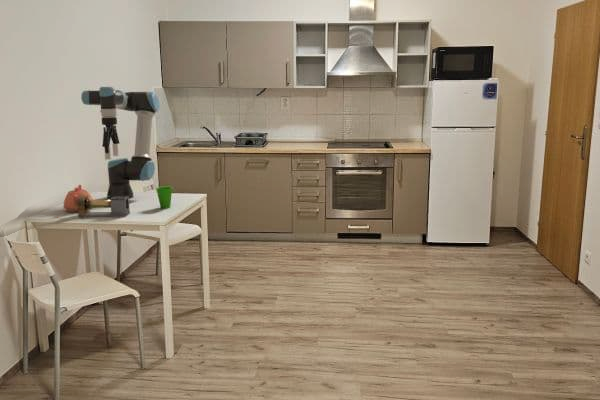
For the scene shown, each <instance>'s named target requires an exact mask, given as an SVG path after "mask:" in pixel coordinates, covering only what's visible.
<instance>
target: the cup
mask: <svg viewBox="0 0 600 400" xmlns="http://www.w3.org/2000/svg"><path fill="white" fill-rule="evenodd" d="M173 188H174V187H173V186H158V187H156V188H155V190H156V193H157V197H158V200H159V202H158V203H159V205H160V206H159V207H160V209H165V210H166V209H170V208H171V203H172V195H173V194H172V193H173Z"/></svg>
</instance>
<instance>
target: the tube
mask: <svg viewBox="0 0 600 400" xmlns="http://www.w3.org/2000/svg"><path fill="white" fill-rule="evenodd" d="M84 206H85V208H86V209H89V208H91V209H101V208H103V209H105V208H107V209H109V208H110V209H111V202H110V199H93V200H89V199H87V200H84Z"/></svg>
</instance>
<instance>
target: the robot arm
mask: <svg viewBox="0 0 600 400" xmlns="http://www.w3.org/2000/svg"><path fill="white" fill-rule="evenodd" d="M81 101H82V103H83V104H84V105H86V106H100V111H99V112H100V115H101V125H102V126H105V127H103V128H102V129H103V136H102V148H104V149H103V150H104V159H105V160H108V162H107V174H108V190H107V193H106V198H107V200H110V199H111V198H112V197H114V196H129V199H132V198H134V191H133V189H132V187H131V182H130V181H137V182H138V181H141V182H144V181H150V180H151V179H153V177H154V175H155V170H156V169H155V168H156V167H155V162H154V161H153V160H152V157H151V156H150V150H151V139H152V124H153V118H154V117H155V116H156V113H157V112H159V110H160V100H159V98H158V95H157V94H156V93H155V92H153V91H128V92H124V91H122V90H119V89H116V90H115V87H114V86H100V87H99V90H90V89H89V90H83V91H82V93H81ZM117 110H123V111H128V112H134V114H135V115H136V116H137V119H136V127H135V128H136V130H135V131H136V132H135V143H134V154H133V155H132V156H131V157H130V158H131V159H130V160H129V159H128V157H123V158H116V159H112V154H113V157H119V155H120V154H119V144H120V139H119V135H118V131H117V126H116V125H117V124H118V118H117V116H118V115H117ZM111 141H112V145H111V146H112V152H111V146H110V144H111ZM111 153H112V154H111Z"/></svg>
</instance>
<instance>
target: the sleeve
mask: <svg viewBox="0 0 600 400" xmlns="http://www.w3.org/2000/svg"><path fill="white" fill-rule="evenodd" d="M109 200H110V202H111V208H110V212H111V215H127V214H128V215H127V216H129V215H130V214H131V210H130V198H129V196H114V197H112V198H111V199H109Z"/></svg>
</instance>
